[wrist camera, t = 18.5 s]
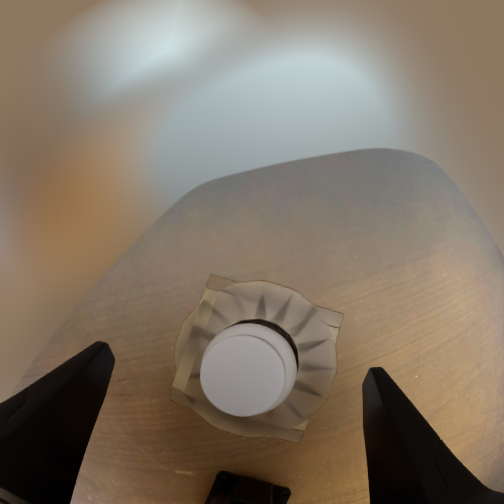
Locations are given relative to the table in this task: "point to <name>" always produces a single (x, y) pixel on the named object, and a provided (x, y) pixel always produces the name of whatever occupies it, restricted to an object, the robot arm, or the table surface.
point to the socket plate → (273, 312)
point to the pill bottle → (247, 370)
